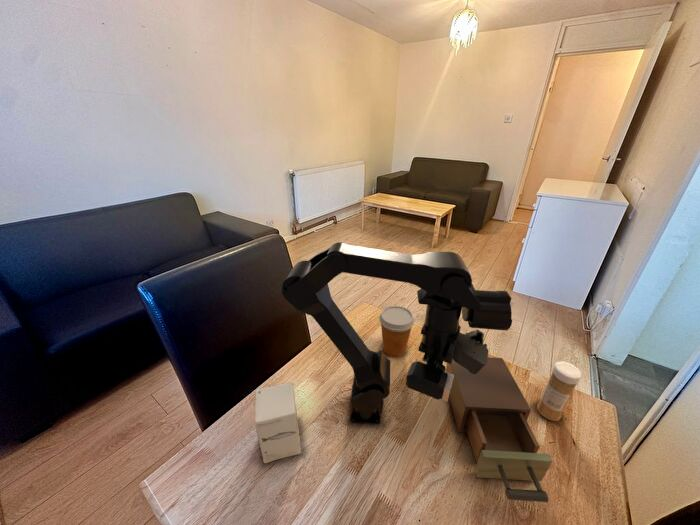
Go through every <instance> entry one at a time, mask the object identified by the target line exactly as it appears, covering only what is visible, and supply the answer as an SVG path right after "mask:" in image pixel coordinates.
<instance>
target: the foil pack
mask: <svg viewBox="0 0 700 525" xmlns="http://www.w3.org/2000/svg"><path fill="white" fill-rule="evenodd" d="M416 361H417V360H414V362H416ZM445 373H448V372H445ZM453 379H454V375H453V374H451V373H448V377H447V381H446V385H445V389H444V393H443V397H442V399H440V400H442V401H443V402H447V403H448V402H449V400H450V399H449V395H450V391H451V387H452V383H453Z"/></svg>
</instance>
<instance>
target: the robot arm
mask: <svg viewBox="0 0 700 525" xmlns="http://www.w3.org/2000/svg"><path fill="white" fill-rule="evenodd" d="M342 273H343V274H350V275H356V276H363V277H369V278H375V279H381V280H382V279H383V280H386V281H387V280H388V281H395V282H399V283H407V284H410V285H414V286H416V287H418V288H419V289H418V290H417V291H416V295H417V302H418V304H419V305H426V310H425V315H424V316H425V317H424V323H423V325H422V327H421V330H420V334H421V335H422V338H421V341H420V343H419V345H418V352H420V353H423V357H422V361H418V360H415V361H416V362H415V361H414V362H412V363H411V365H410V367H409V369H408V372H407V374H406V377H405V386H406V387H407V389H410V390H413V391H415V392H418V393H420V394H422V395H425V396H428V397H430V398H432V399H435V400H441V399H442V397H443V393H444V389H445V385H446V381H447V377H448V373H445V371H446V366H445V365H444V363H446V364H447V363H449V364H451V363H452V359H454V361H455V362H456V363H458V364H459V365H461V366H463V367H464V368H466V369H467V370H469V372H470V373H472V374H477V373H478V372H479V371H480V370H481V369H482V368H483V367H484V366H485V365H486V364H487V359H488V357H489V349H488V344H487V343H484V337H485V333H484V332H482V331H480V330H479V329H481V330H492V331H493V330H494V331H507V332H508V331H509V330H510V328H511V326H512V324H513V318H512V317H513V316H512V313H513V312H512V306H511V305H512V304H511V301H512V296H511V295H510V294H509V292H508V291H507V290H480V289H475V286H474V284H473V278H472V275H471V273H470V271H469V269H468V267H467V265H466V263H465V261H464V259H463V258H462V257H461V256H460V254H458V253H456V252H453V251H429V252H424V253H421V254H420V253H419V254H409V253H403V252H396V251H389V250H383V249H377V248H370V247H366V246H365V247H364V246H358V245H351V244H347V243H345V242H342V241H339V242H335V243H333V244H332V245H331V246H330V247H328V248H327V249H324V250H322V251H320V252H319V253H317V254H315V255H314V256H312V257H311V258H309V259H308V260H300V261H298V262H296V264H294V265H293V268H291V270H290V272H289V273H288V274H287V276H286V277H285V279H284V281H283V283H282V285H281V291H280V292H281V294H282V296H283V298H284V299H285V300H286V301H287V302H288V303H289V304H290V305H291V306H292V307H294V308H295V309H296V310H297V311H298V312H300V313H302V314H305V315H308V316H311V317H312V318H313V319H314V320H315V322H316V323H317V325H318V326H319V327H320V328H321V330H322V331H323V332H324V334H325V335H326V336H327V337H328V338H329V340H330V341H331V343H332V344H333V345H334V346H335V348H336V349H337V350H338V352H339V353H340V354H341V355H342V356H343V358H344V359H345V361H347V363H348V364H349V365H350V367H351V368H352V371H353V382H352V384H351V392H350V393H351V394H350V399H349V400H350V401H349V402H350V405H351V406H350V419H349V420H350V423H351V424H364V425H380V424H381V415H383V411H384V400H385V399H386V398H388V397H389V395H390V394H391V390H390V389H391V388H390V387H391V360H390V359H389V358H387V357H386V355H385V352H384V350H382V349H379V350H378V351H374V350H371V349H369V347H368V346H367V344H365V342H364V341H363V339H362V338H361V336H360V335H359V334H358V333H357V331H356V330H355V328H354V327H353V326H352V325H351V322H349V320H348V319H347V318H346V316H345V314H343V312H342V310H341V309H340V308H339V307H338V305H337V304H336V303H335V302H334V299H333V298H332V295H331V291H330V287H329V283H330V282H331V281H332V280H334V278H336V277H337V276H339V275H340V274H342ZM461 316H462V320H463V322H467V324H468V327H469V328H471V329H474V330H471V331H469V332H466V333H462V332H461V330H462V329H461V328H462V326H461V325H460V319H461Z"/></svg>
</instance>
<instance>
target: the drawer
mask: <svg viewBox="0 0 700 525" xmlns="http://www.w3.org/2000/svg"><path fill="white" fill-rule="evenodd" d="M465 427H466V430H467V432H466V433H467V436H468V440H469V442H470V446H471V449H472V452H473V455H474V458H475V462H477V463H476V465H475V467H474V472H475V476H476V478H484V479H485V478H487V479H499V480H500V479H501V480H502V482H503V485H504V487H505V489H504V490H505V496H506V499H507V500H509V501H521V502H522V501H523V502H537V503H549V496H548V493H547V492H546V491H545V490H543V489H542V486H541V484H540V482H543V480H544V478H545V476H546V474H547V472H548V471H549V469H550V467H551V465H552V463H553V459H552V457H551V455H550V453H540V452H539V449H540V448H541V445H540V443H539V442H538V439H537V438H536V436H535V434H534V432H533V430H532V429H531V426H530V423H529V422H528V419H527V420H526V419H525V417H524V415H523V413H522V412H509V411H490V410H471V409H469V411H468V415H467V418H466V422H465ZM509 480H517V481H518V480H519V481H531V482H533V484H534V486H535V489H536V490H534V489H533V490H532V489H522V488H521V489H520V488H519V489H518V488H511V485H510V482H509Z"/></svg>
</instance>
